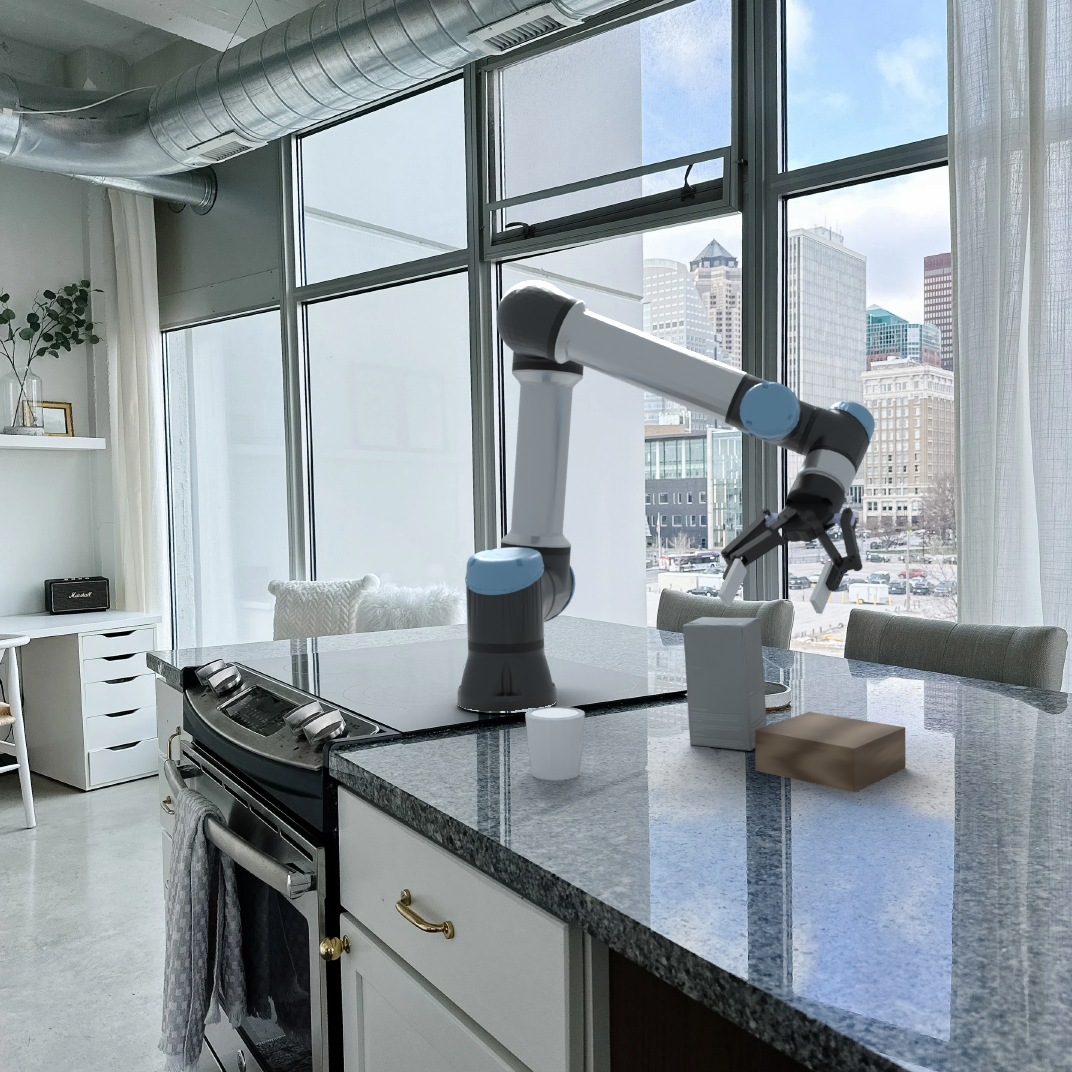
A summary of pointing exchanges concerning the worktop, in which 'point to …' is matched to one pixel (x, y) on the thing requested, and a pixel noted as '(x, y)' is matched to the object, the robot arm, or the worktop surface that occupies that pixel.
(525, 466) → the robot arm
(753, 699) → the skincare box
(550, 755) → the white tapered cup
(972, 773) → the worktop surface
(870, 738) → the walnut block
